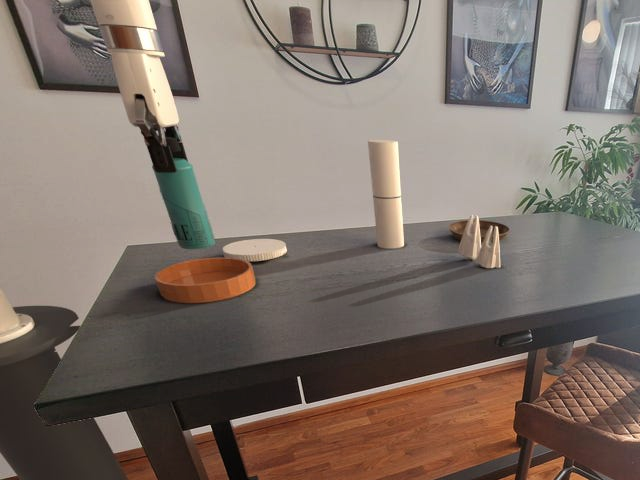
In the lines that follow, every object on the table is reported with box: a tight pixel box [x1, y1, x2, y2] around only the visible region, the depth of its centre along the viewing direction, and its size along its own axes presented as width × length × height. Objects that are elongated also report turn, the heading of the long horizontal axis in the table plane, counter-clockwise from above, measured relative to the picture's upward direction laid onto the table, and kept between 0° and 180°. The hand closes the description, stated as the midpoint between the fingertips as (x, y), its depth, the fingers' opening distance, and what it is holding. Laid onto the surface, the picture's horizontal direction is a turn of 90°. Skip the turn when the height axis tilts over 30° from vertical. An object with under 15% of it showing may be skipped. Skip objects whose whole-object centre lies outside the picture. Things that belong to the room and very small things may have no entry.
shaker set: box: [457, 214, 501, 269], centre depth 107 cm, size 12×4×11 cm, turn 44°
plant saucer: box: [448, 219, 511, 245], centre depth 129 cm, size 18×18×3 cm
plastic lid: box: [221, 238, 288, 262], centre depth 108 cm, size 14×14×2 cm
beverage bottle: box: [151, 137, 216, 250], centre depth 82 cm, size 6×7×20 cm
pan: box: [154, 257, 257, 304], centre depth 90 cm, size 17×17×4 cm
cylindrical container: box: [367, 139, 405, 250], centre depth 114 cm, size 7×7×25 cm
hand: (173, 168), depth 79 cm, fingers closed on beverage bottle, 6 cm apart
